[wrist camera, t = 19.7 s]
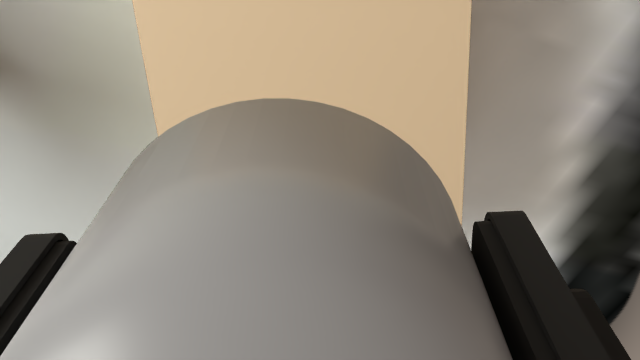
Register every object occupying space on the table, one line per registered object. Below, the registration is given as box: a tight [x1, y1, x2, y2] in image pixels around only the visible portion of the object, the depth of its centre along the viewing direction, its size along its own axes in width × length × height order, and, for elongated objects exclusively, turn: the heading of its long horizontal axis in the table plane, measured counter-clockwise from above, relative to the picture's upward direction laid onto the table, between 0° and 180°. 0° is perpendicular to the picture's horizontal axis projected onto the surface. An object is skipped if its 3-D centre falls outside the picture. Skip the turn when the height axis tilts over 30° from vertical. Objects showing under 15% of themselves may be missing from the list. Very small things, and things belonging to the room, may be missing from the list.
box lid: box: [132, 0, 472, 225], centre depth 24 cm, size 16×13×1 cm
